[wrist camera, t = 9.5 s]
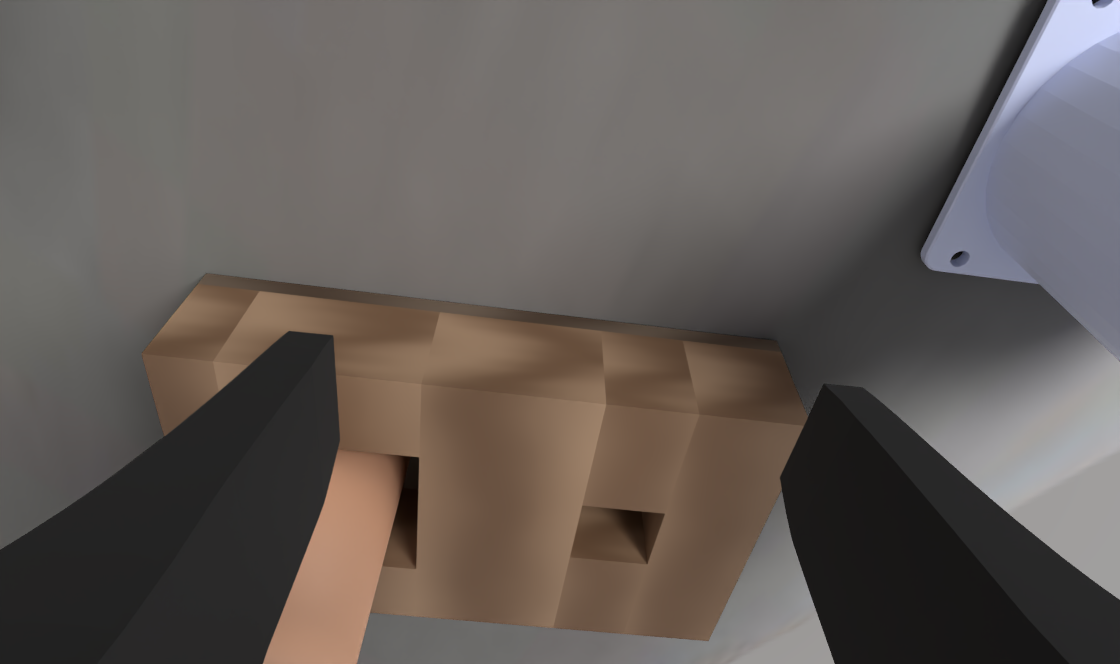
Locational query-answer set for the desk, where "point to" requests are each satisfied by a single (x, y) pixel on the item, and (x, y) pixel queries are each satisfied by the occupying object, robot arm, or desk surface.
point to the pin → (341, 563)
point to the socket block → (526, 448)
